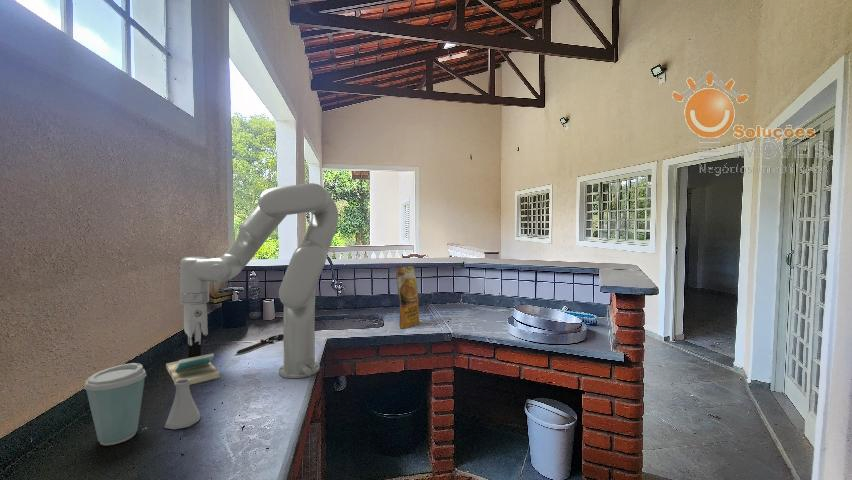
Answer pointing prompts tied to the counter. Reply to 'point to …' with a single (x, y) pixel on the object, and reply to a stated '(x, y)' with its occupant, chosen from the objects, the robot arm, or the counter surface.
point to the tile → (194, 362)
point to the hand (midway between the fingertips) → (194, 357)
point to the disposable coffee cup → (116, 401)
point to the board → (193, 373)
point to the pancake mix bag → (407, 296)
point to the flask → (182, 407)
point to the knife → (260, 344)
